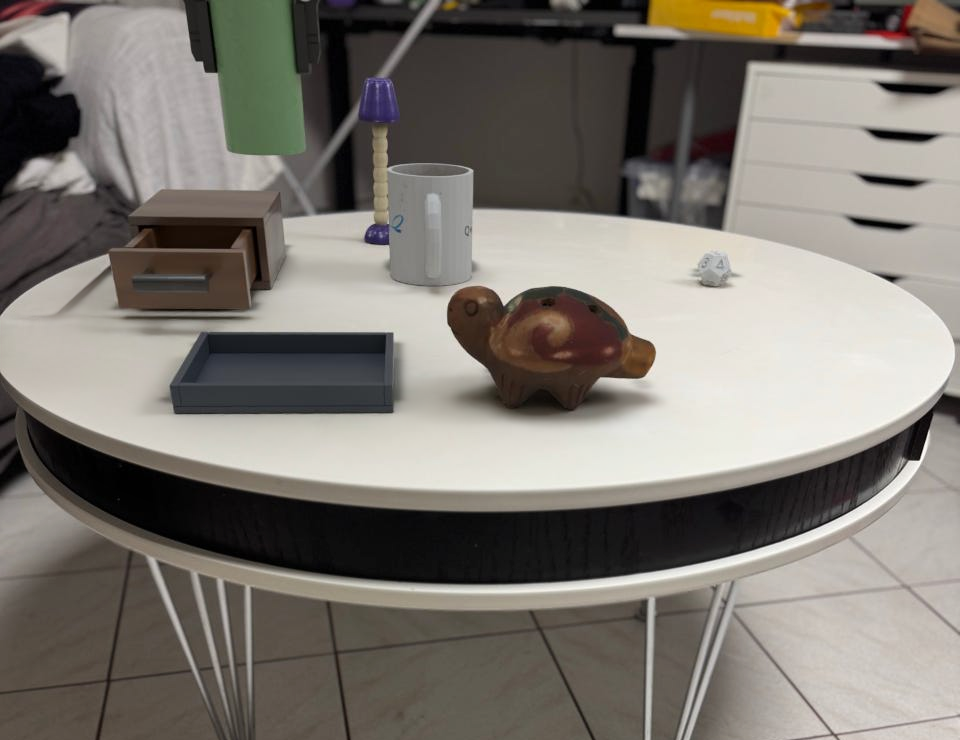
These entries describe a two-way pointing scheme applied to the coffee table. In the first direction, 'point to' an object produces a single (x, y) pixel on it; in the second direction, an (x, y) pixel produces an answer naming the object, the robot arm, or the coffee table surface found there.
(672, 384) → the coffee table surface
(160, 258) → the drawer
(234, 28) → the can
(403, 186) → the mug
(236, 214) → the cabinet
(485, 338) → the decorative turtle
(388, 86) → the toy lamp
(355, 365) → the tray
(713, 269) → the game die
